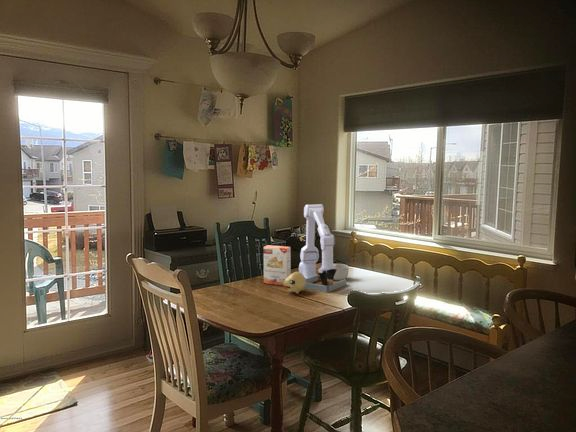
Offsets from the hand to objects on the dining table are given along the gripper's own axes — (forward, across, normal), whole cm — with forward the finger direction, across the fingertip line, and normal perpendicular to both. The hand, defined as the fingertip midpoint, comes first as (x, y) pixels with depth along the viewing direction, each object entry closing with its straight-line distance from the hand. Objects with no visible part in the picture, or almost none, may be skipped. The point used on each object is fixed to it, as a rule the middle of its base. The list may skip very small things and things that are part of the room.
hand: (327, 283), depth 240 cm
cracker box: (+3, -6, +28) cm, 29 cm away
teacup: (+3, +22, +8) cm, 23 cm away
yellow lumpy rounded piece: (+3, -15, +10) cm, 19 cm away
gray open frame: (+3, +5, +6) cm, 8 cm away
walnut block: (+3, 0, 0) cm, 3 cm away
